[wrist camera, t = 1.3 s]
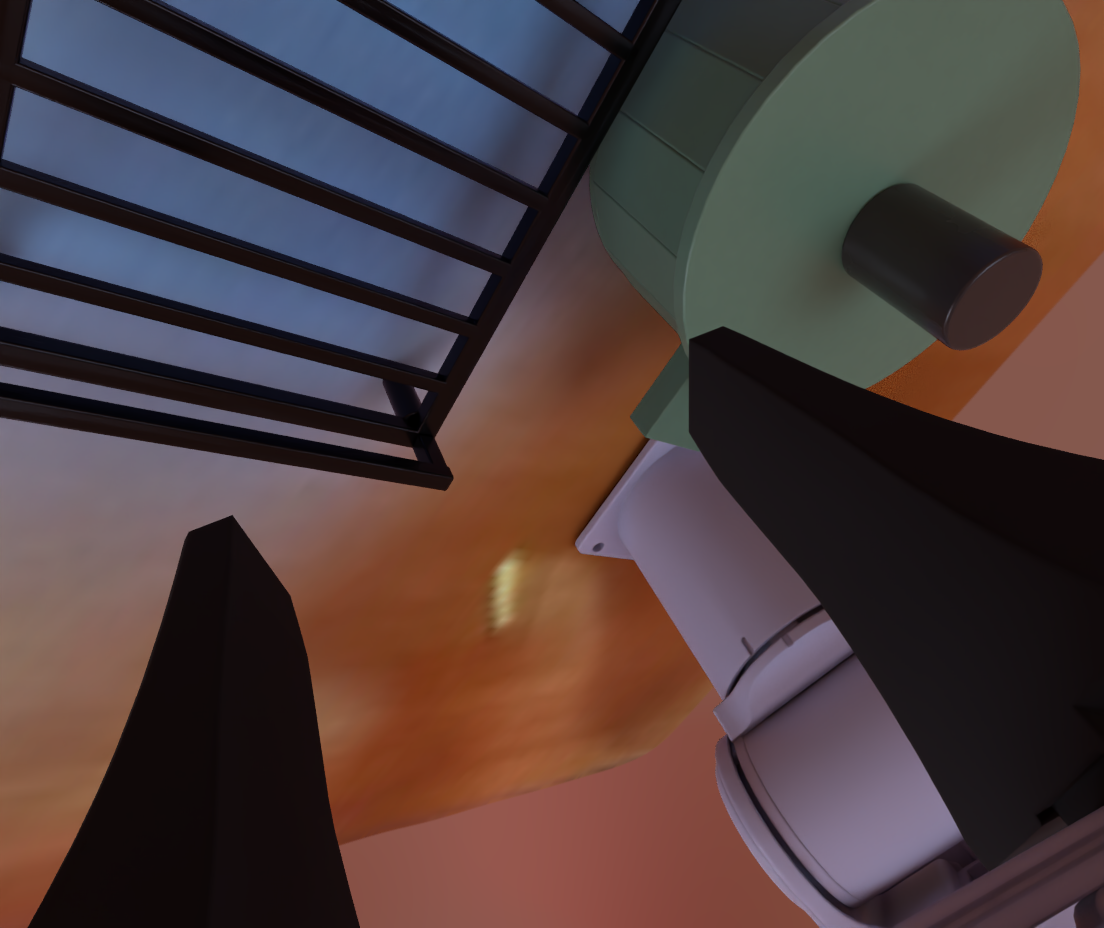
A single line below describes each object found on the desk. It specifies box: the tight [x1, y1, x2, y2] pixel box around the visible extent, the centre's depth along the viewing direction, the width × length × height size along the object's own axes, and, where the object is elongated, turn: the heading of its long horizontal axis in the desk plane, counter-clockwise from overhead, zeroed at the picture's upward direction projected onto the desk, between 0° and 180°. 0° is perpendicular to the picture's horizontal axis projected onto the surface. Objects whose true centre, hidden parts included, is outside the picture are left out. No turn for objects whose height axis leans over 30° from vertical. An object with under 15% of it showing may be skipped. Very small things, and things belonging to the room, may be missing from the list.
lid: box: [674, 0, 1080, 389], centre depth 17 cm, size 11×11×4 cm
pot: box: [589, 0, 850, 452], centre depth 20 cm, size 10×15×5 cm, turn 147°
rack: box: [0, 0, 682, 491], centre depth 15 cm, size 11×15×4 cm
